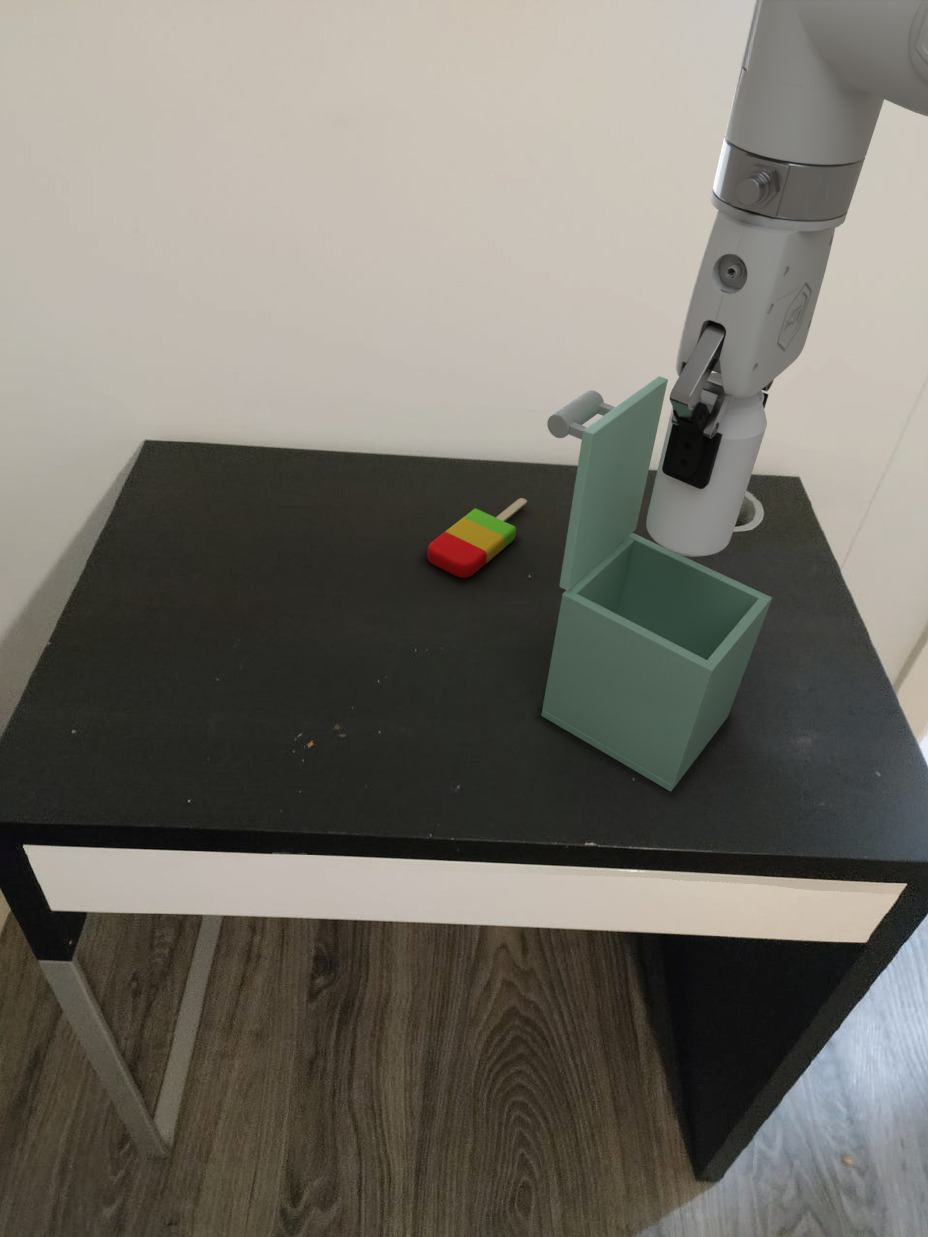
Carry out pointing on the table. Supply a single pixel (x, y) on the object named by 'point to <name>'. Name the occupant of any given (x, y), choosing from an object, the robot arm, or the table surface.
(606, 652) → the pale green hollow box
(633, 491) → the lid
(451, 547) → the popsicle
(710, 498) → the beverage can
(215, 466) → the table surface
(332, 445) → the table surface
